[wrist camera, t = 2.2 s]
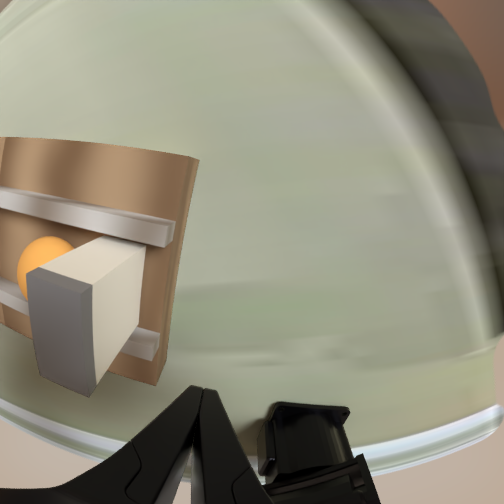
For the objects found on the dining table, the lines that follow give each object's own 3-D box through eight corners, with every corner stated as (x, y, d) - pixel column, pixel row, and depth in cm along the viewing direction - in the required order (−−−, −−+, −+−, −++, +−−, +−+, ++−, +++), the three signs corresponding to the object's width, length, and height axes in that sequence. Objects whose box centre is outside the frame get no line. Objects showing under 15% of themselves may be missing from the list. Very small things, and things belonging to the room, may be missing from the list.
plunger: (146, 245, 14) (81, 293, 8) (138, 323, 15) (89, 397, 9) (104, 235, 14) (25, 273, 8) (100, 311, 15) (40, 375, 9)
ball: (98, 237, 14) (57, 256, 10) (95, 302, 15) (60, 335, 11) (45, 223, 14) (1, 238, 10) (45, 285, 15) (7, 310, 11)
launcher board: (199, 159, 16) (182, 154, 12) (166, 360, 20) (149, 400, 15) (-19, 137, 15) (-54, 137, 11) (-23, 286, 18) (-52, 302, 14)
